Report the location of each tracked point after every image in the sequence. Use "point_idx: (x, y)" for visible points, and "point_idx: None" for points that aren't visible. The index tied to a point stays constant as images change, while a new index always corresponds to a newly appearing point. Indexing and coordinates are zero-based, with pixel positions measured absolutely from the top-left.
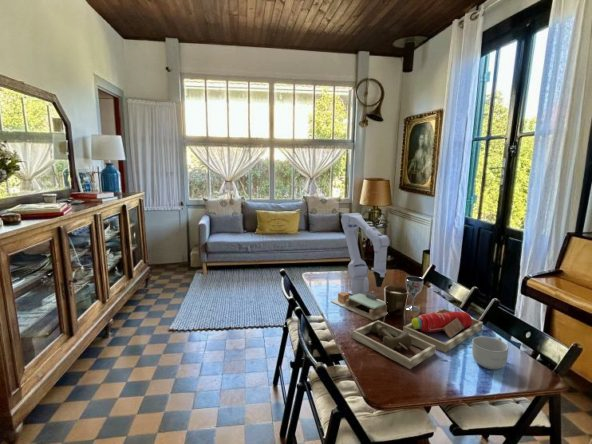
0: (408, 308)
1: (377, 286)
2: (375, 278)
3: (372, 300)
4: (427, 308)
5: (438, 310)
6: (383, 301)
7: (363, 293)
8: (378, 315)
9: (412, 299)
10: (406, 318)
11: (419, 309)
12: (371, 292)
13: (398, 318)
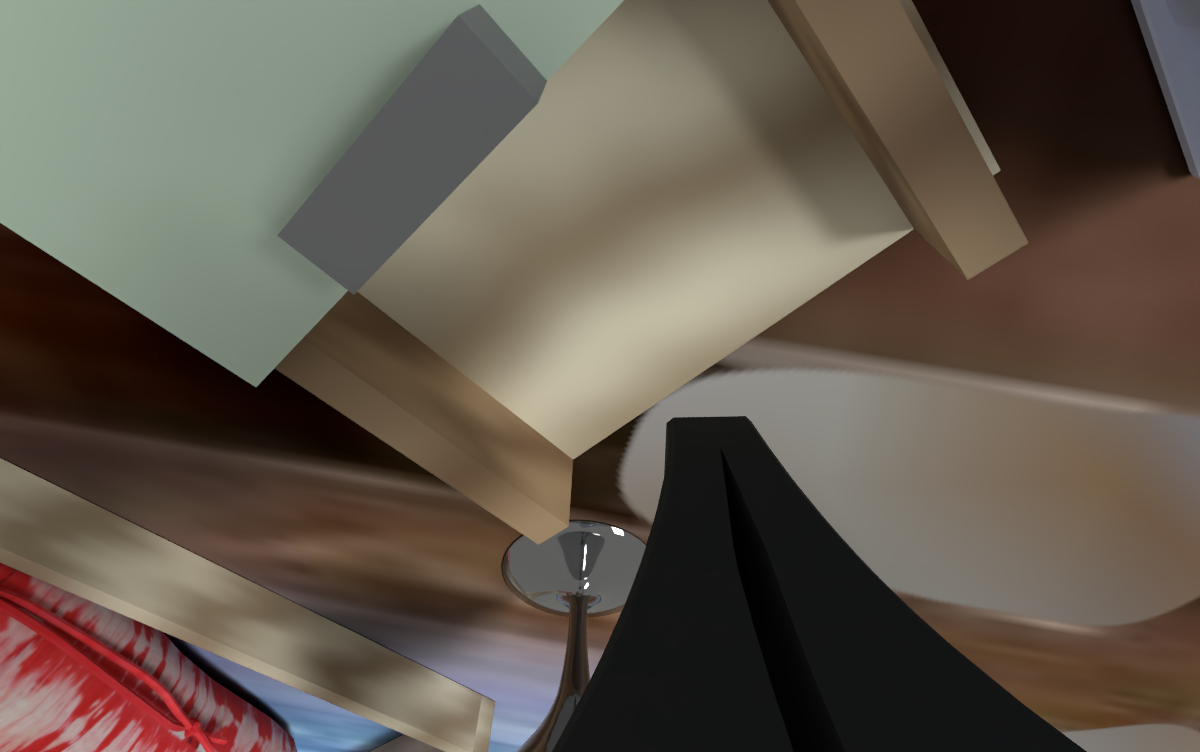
0: (550, 547)
1: (668, 438)
2: (786, 612)
3: (294, 153)
4: (596, 657)
5: (419, 734)
6: (718, 345)
7: (1192, 30)
8: None
9: (565, 667)
10: (291, 482)
11: (553, 612)
12: (937, 211)
13: (251, 412)
